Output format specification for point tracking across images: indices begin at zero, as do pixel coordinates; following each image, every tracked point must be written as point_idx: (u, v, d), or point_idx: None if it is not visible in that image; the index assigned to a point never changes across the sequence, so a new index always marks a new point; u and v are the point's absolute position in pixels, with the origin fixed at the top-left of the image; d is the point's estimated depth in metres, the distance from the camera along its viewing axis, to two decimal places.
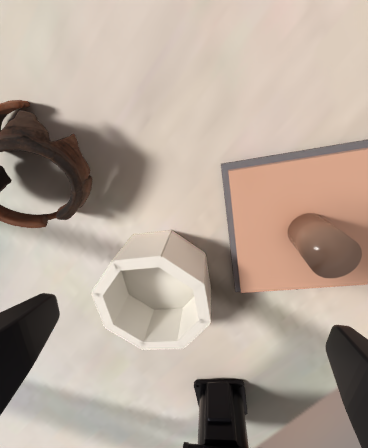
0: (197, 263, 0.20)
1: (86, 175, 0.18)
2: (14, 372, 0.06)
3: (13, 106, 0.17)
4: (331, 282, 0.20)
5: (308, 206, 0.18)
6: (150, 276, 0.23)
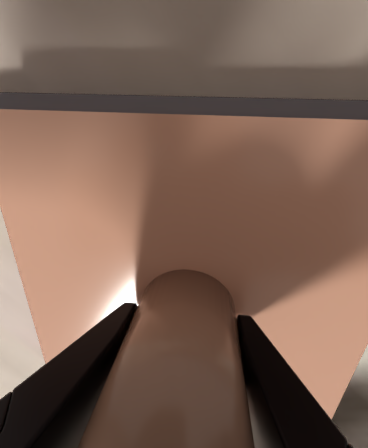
0: None
1: None
2: None
3: None
4: None
5: (125, 301, 0.08)
6: None
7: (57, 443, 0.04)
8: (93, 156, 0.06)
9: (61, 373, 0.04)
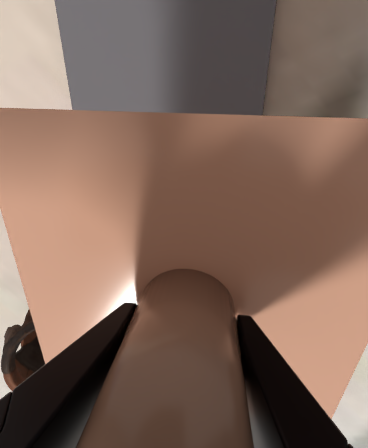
0: None
1: None
2: None
3: None
4: None
5: (124, 301, 0.08)
6: None
7: (57, 443, 0.04)
8: (92, 156, 0.06)
9: (61, 373, 0.04)
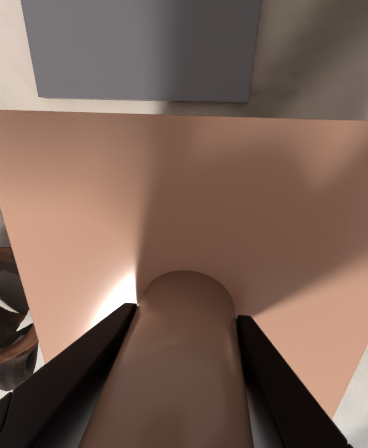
0: None
1: (9, 252, 0.16)
2: None
3: None
4: None
5: None
6: None
7: (57, 443, 0.04)
8: (93, 158, 0.06)
9: (61, 373, 0.04)
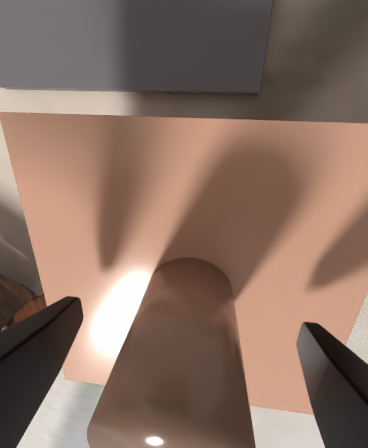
0: None
1: None
2: (44, 376, 0.06)
3: None
4: (366, 256, 0.07)
5: (133, 288, 0.08)
6: None
7: None
8: (106, 155, 0.07)
9: None
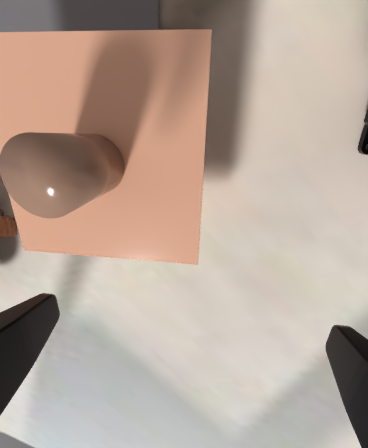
0: None
1: None
2: (14, 372, 0.06)
3: None
4: (196, 124, 0.11)
5: None
6: None
7: None
8: (31, 60, 0.11)
9: None
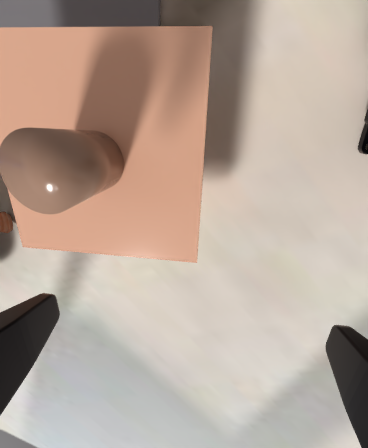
0: None
1: None
2: (14, 372, 0.06)
3: None
4: (196, 121, 0.11)
5: None
6: None
7: None
8: (31, 55, 0.11)
9: None
